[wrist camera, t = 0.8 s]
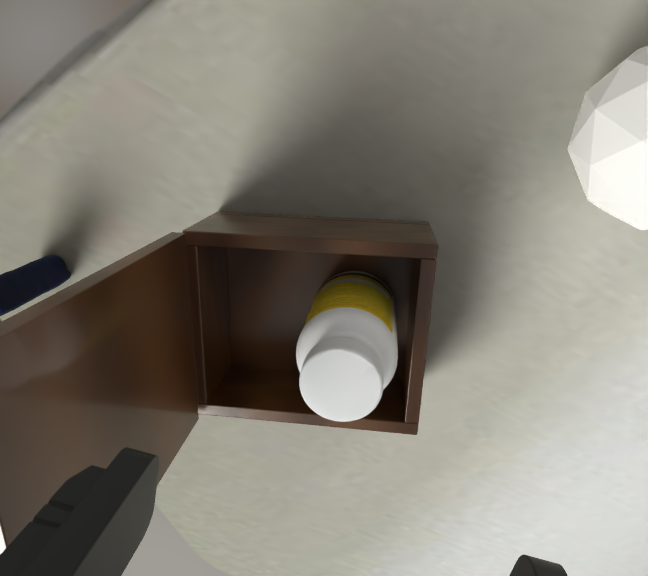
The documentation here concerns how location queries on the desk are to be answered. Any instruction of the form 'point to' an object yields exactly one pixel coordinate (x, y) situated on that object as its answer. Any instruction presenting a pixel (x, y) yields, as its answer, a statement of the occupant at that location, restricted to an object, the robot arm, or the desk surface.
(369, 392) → the supplement bottle
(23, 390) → the box lid
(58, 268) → the eraser
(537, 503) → the desk surface
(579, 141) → the perfume bottle
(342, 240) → the storage box
